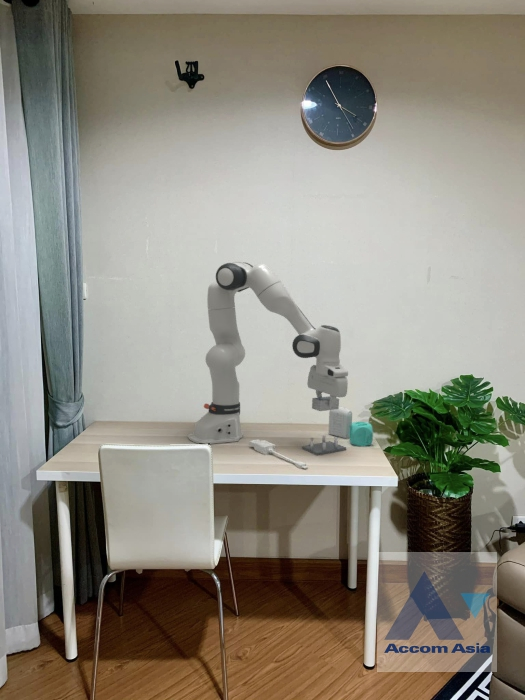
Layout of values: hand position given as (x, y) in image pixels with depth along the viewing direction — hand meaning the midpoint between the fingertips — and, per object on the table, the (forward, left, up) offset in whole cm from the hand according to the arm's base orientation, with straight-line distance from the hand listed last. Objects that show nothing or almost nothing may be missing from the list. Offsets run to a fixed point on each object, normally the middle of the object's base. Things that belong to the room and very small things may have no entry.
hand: (325, 404), depth 233 cm
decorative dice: (+18, -1, -18) cm, 26 cm away
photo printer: (+18, +12, -18) cm, 28 cm away
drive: (0, 0, -2) cm, 2 cm away
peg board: (0, 0, -18) cm, 18 cm away
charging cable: (-21, +1, -19) cm, 28 cm away
